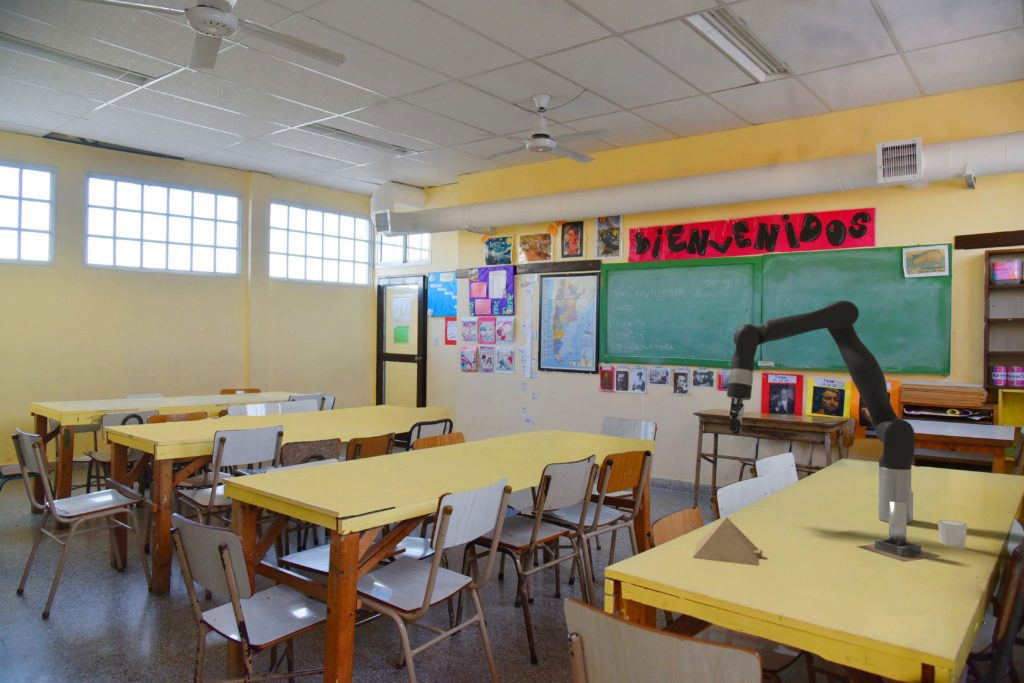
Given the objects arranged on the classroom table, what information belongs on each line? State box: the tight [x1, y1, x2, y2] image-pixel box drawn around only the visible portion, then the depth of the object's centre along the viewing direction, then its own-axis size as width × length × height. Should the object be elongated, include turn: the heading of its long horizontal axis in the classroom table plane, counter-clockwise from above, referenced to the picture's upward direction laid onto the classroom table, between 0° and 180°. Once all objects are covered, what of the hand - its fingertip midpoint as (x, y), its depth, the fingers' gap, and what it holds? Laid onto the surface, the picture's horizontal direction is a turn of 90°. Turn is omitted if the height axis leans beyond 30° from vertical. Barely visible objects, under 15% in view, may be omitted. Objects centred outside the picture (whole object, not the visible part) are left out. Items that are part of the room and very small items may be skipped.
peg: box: [888, 501, 907, 547], centre depth 177 cm, size 4×4×13 cm
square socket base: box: [856, 538, 940, 563], centre depth 177 cm, size 14×14×3 cm
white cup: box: [937, 519, 968, 550], centre depth 185 cm, size 7×7×7 cm
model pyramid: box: [692, 517, 764, 567], centre depth 176 cm, size 17×17×10 cm
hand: (734, 432), depth 217 cm, fingers open, 8 cm apart
